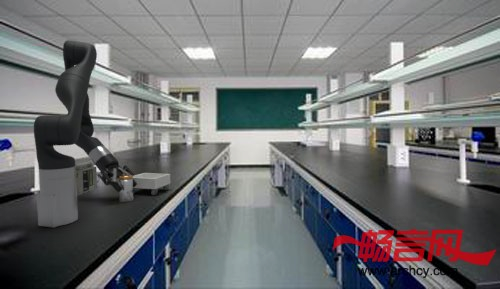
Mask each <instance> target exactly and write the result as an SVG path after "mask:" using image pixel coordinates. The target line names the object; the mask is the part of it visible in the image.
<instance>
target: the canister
mask: <svg viewBox="0 0 500 289" xmlns="http://www.w3.org/2000/svg"><path fill="white" fill-rule="evenodd" d="M118 183H119V185H120V186H121V187H122V190H121V191H120V192H118V193H119V202H121V203H126V202H127V203H128V202H131V201H134V194H133V178H132V175H131V174H130V175H124V174H123V175H121V176H119V178H118Z"/></svg>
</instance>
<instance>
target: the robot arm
mask: <svg viewBox="0 0 500 289" xmlns="http://www.w3.org/2000/svg"><path fill="white" fill-rule="evenodd" d="M97 52H98V51H97V49H96V47H95V45H93V44H91V43H88V42H84V41H76V40H69V39H68V40H65V41H64V43H63V47H62V56H63V64H64V71H63V72H62V73H61V74H60V75H59V77H58V79H57V81H56V86H55V89H54V90H55V91H54V92H55V94H56V96H57V98H58V99H59V101H60V102H61V104H62V105H63V106H64V107H65V109H66V110H67V114H65V115H38V116H37V117H36V118H35V119H34V123H33V138H34V144H35V154H36V161H37V165H38V180H39V183H38V184H39V193H37V194H36V207H37V210H36V211H37V224H38V226H39V227H48V228H56V227H61V226H65V225H69V224H72V223H74V222H77V221H78V219H79V218H78V217H79V214H78V213H79V212H78V196H77V190H76V168H75V164H76V159H75V158H74V157H73V156H71V155H67V154H63V153H61V152H60V151H57V150H56V149H55V148H54V146H72V145H76V146H77V147H78V148H80V149H82V151H84V152H85V154H86V155H87V156H88V158H89V159H90V160H92V162H93V163H94V164H95V165H94V166H96V169H98V170H99V173H97V174H98V176H99V178H100V180H101V181H102V183H104V185H105V186H110V187H112V188H114V190H115V191H116V192H117V193H119V192H120V191H121V190H122V187H121V186H120V185H119V181H117V179H119V176H121V175H132V177H133V176H134V175H135V173H133V170H131V169H130V168H129V167H128V166H127V165H126V164H125V165H124V166H121V165H119V160H118V159H117V157H115V155H114V154H113V153H112V152H111V151H110V149H109V148H107V146H105V145H104V144H103V143H102V141H101V140H100V139H98V137H95V136H93V135H94V131H95V130H94V129H95V128H94V124H93V120H92V117H91V115H90V96H89V93H88V91H89V85H90V81H91V80H90V79H91V77H92V73H93V70H94V68H95V65H96V63H97V56H98V53H97ZM98 176H97V177H98ZM136 185H137V183H136V181H135V180H134V179H133V187H135V186H136Z"/></svg>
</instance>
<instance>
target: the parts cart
mask: <svg viewBox="0 0 500 289" xmlns="http://www.w3.org/2000/svg"><path fill="white" fill-rule="evenodd" d="M132 178H133V179H134V180H135V181H136V183H137V185H136V186H135V187H133V195H135V194H136V192H137V189H143V190H150V191H151V192H150V193H151V195H152V196H156V195H157V194H158V189H160V188H162V190H163V191H168V190H169V188H170V186H169V185H170V184H171V173H153V172H143V173H139V174H134V176H133V177H132Z"/></svg>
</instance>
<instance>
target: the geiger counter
mask: <svg viewBox="0 0 500 289" xmlns="http://www.w3.org/2000/svg"><path fill="white" fill-rule="evenodd" d="M75 168H76V190H77V197H79V196H81V195H83V193H84V194H86V193H89V192H92V191H94V190H96V188H97V189H98V183H100V180H101V178H100V177H99V176H98V174H99V173H97V167H96V165H95V164H94V163H93V162H92V160H91V159H90V160H86V161H84V162H80V163H79V162H78V163H75ZM93 189H94V190H93ZM88 191H89V192H88ZM78 195H79V196H78Z"/></svg>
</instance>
